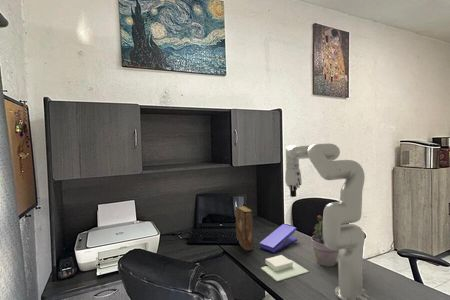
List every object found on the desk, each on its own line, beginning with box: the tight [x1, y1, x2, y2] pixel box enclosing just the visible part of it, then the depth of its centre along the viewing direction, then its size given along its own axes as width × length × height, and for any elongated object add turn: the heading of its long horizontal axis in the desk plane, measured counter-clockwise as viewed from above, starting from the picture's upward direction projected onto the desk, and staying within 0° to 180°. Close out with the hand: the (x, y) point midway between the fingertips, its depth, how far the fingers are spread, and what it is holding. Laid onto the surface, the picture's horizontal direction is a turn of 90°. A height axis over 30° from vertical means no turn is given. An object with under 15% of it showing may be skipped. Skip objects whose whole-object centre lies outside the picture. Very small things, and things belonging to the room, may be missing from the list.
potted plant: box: [310, 214, 339, 267], centre depth 144 cm, size 18×20×25 cm
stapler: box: [259, 223, 298, 254], centre depth 172 cm, size 12×28×10 cm, turn 134°
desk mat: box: [260, 259, 310, 283], centre depth 138 cm, size 15×20×1 cm
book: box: [234, 205, 254, 251], centre depth 171 cm, size 16×6×25 cm, turn 21°
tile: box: [264, 254, 293, 272], centre depth 142 cm, size 3×11×10 cm
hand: (293, 196), depth 156 cm, fingers closed
